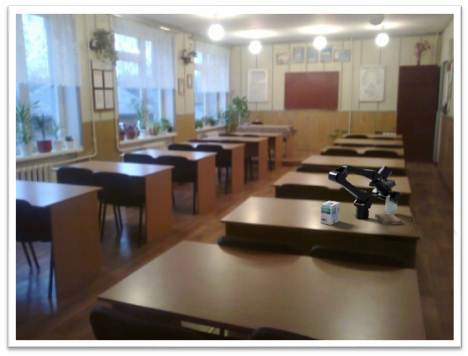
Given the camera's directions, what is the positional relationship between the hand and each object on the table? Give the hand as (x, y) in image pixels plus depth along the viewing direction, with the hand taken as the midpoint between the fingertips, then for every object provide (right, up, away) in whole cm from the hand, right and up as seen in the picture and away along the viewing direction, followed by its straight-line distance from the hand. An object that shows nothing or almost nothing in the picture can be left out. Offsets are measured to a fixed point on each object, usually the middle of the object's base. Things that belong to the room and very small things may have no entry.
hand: (393, 202), depth 258 cm
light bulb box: (-41, -10, -16) cm, 45 cm away
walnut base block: (-8, -10, -14) cm, 19 cm away
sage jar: (-1, -7, +1) cm, 7 cm away
